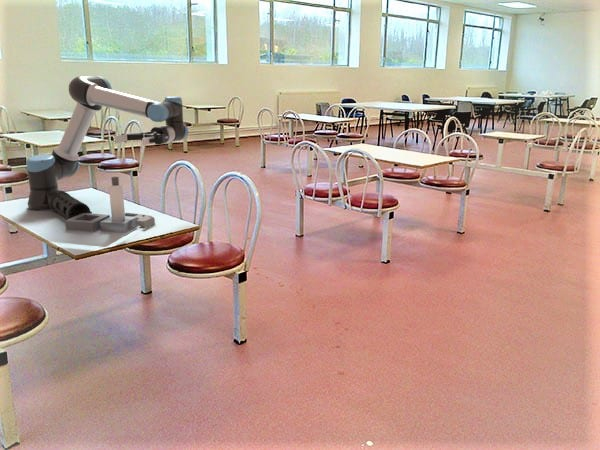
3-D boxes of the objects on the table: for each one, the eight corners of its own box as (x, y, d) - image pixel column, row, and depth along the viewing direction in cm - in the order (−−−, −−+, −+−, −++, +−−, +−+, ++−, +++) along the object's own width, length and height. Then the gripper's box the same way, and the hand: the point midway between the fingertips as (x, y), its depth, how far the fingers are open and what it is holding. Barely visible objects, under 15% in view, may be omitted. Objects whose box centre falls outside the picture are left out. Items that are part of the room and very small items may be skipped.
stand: (115, 226, 213) (114, 215, 211) (137, 228, 211) (136, 217, 209) (101, 234, 203) (100, 221, 202) (124, 236, 201) (123, 223, 200)
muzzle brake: (92, 224, 219) (66, 224, 212) (69, 210, 239) (45, 209, 232) (94, 202, 218) (68, 202, 211) (70, 190, 238) (46, 188, 231)
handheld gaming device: (144, 229, 211) (144, 220, 210) (113, 226, 215) (112, 217, 214) (156, 224, 219) (156, 215, 218) (126, 220, 223) (125, 212, 222)
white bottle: (116, 217, 209) (112, 175, 204) (127, 218, 208) (124, 176, 203) (109, 220, 204) (105, 178, 199) (121, 221, 203) (117, 178, 198)
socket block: (84, 224, 216) (83, 212, 214) (110, 226, 213) (109, 214, 212) (66, 232, 204) (64, 220, 203) (93, 235, 202) (92, 223, 200)
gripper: (186, 145, 221) (155, 152, 202) (139, 141, 230) (105, 147, 211) (186, 127, 219) (154, 133, 200) (137, 124, 228) (103, 129, 209)
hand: (129, 140), depth 206 cm, fingers open, 13 cm apart
